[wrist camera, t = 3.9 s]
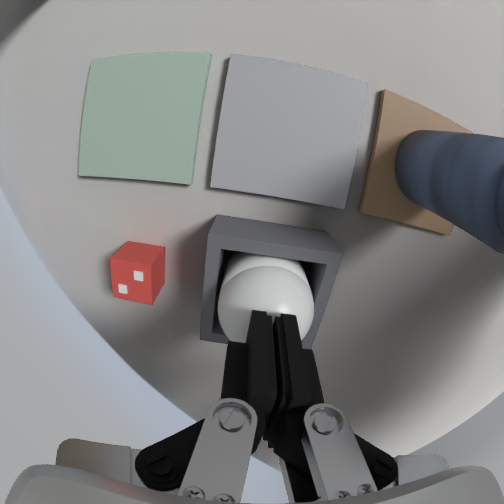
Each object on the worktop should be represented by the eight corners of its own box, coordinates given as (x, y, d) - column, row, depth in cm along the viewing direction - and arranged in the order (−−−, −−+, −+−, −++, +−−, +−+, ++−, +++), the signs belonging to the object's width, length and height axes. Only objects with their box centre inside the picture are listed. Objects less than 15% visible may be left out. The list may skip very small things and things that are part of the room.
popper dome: (312, 246, 14) (337, 300, 10) (293, 313, 16) (305, 378, 11) (229, 234, 14) (216, 285, 9) (220, 304, 16) (208, 369, 11)
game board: (469, 132, 12) (500, 136, 9) (407, 326, 17) (424, 353, 15) (95, 60, 11) (66, 50, 8) (89, 284, 16) (67, 308, 14)
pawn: (457, 144, 12) (580, 177, 3) (442, 212, 14) (552, 283, 5) (402, 119, 12) (542, 125, 3) (387, 195, 13) (510, 272, 5)
